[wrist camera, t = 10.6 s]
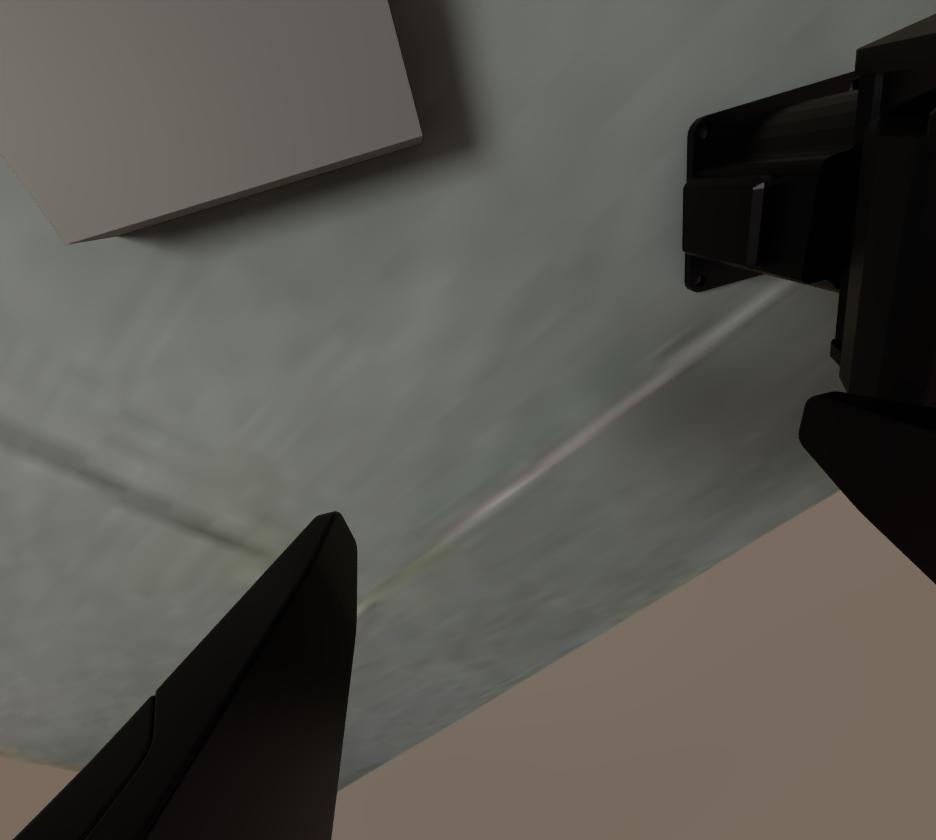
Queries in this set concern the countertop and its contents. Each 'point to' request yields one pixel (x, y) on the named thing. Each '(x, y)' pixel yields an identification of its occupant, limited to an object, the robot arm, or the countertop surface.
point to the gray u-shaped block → (191, 102)
